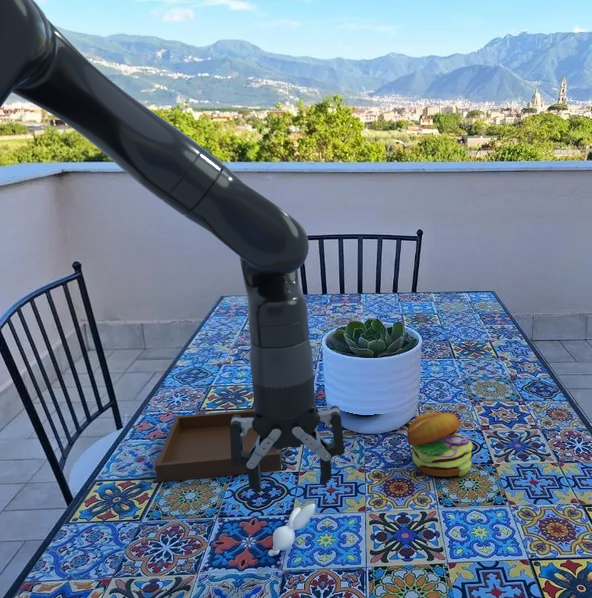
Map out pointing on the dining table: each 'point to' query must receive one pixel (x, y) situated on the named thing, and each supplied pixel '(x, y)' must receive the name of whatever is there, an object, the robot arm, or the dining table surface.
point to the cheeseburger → (439, 445)
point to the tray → (207, 448)
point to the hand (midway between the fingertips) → (291, 485)
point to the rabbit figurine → (291, 529)
